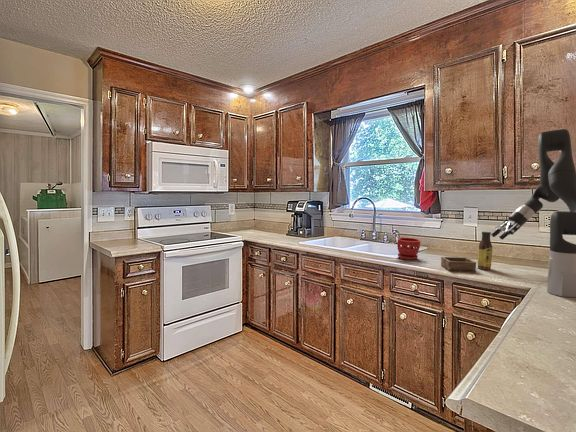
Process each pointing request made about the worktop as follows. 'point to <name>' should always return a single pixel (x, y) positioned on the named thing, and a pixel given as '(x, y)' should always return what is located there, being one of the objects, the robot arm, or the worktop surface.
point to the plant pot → (408, 248)
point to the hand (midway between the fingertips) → (496, 237)
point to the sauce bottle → (485, 252)
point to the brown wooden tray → (458, 264)
